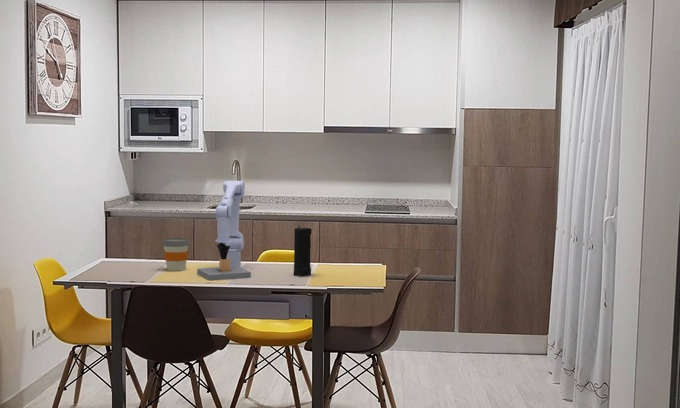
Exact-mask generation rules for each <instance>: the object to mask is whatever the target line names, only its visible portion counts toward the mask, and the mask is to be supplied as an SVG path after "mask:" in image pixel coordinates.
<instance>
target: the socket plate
mask: <svg viewBox="0 0 680 408" xmlns="http://www.w3.org/2000/svg"><path fill="white" fill-rule="evenodd" d="M196 269H197V270H196V272H197V275H199V276H201V278H202V277H203V278H204V279H206V280H208V281H210V282H211V281H222V280H233V279H248V278H250V279H251V277H252V272H251V271H249V270H247V269H245V268H244V267H243V268H240V267H238V266H230V271H224V272H220V266H216V267H202V268H201V267H200V268H196Z"/></svg>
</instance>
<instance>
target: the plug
mask: <svg viewBox="0 0 680 408" xmlns="http://www.w3.org/2000/svg"><path fill="white" fill-rule="evenodd" d="M218 260H219V267H220V272H224V271H230V259H228V258H226V259H221V258H219V259H218Z"/></svg>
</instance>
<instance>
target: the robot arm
mask: <svg viewBox="0 0 680 408" xmlns="http://www.w3.org/2000/svg"><path fill="white" fill-rule="evenodd" d="M222 186H223V187H222V188H223V189H222V190H223V192H224V196H222V197H221V200H220V201H219V204H218V205H217V206H216V207H215V219H216V222H217V224H216V225H217V227H216V228H217V229H216V230H217V238H216V239H215V240H214V242H215V243H218V244H216V247H217V248H218V252H219V255H220V259H226V258H228V259H230V266H238V267H240V268H243V269H244V267H243V266H242V264H241V263H242V262H241V261H242V259H241V258H242V257H241V255H242V254H241V251H242V250H244V246H245V239H244V237H245V236H244V234H243V233H242V232H240V231H239V226H240V225H239V223H240V205H241V199H243V198H244V197H245V182H244V180H224V181H223V185H222Z"/></svg>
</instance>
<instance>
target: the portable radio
mask: <svg viewBox="0 0 680 408" xmlns="http://www.w3.org/2000/svg"><path fill="white" fill-rule="evenodd" d="M311 235H312V228H310V227H300V226H298V227H297V228H294V244H293V245H294V246H293V247H294V248H293V250H294V251H293V252H294V253H293V276H296V277H307V276H311V275H312V268H311V247H312V244H311V243H312V242H311Z"/></svg>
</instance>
